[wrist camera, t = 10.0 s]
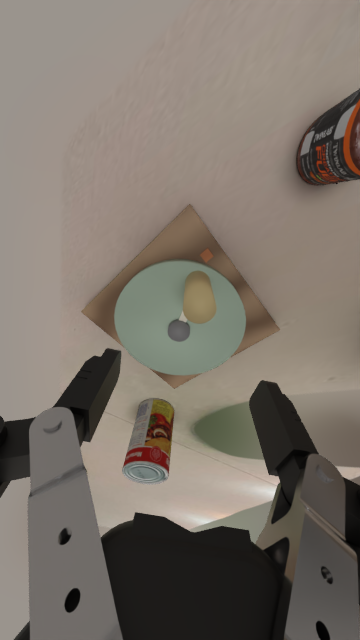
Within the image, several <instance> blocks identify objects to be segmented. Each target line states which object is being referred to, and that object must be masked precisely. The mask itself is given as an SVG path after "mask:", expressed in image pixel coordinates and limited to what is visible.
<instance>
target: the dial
mask: <svg viewBox="0 0 360 640" xmlns="http://www.w3.org/2000/svg"><path fill="white" fill-rule="evenodd" d="M114 320H115V327H116V331H117V334H118V337H119V339H120V341H121V343H122V345H123V346H124V347H125V349H126V350H127V351H128V352H129V354H130V355H131V356H133V357H134V358H135V359H136V360H137V361H139V362H140V363H141V364H143V365H145V366H147V367H148V368H151V369H153V370H155V371H158V372H161V373H165V374H171V375H194V374H199V373H203V372H206V371H209V370H212V369H214V368H216V367H218V366H219V365H221V364H222V363H224V362H225V361H226V360H228V359H229V358H230V357H231V356H232V355H233V354H234V352H235V351H236V350H237V348H238V347H239V345H240V343H241V341H242V339H243V336H244V332H245V327H246V316H245V310H244V306H243V303H242V301H241V299H240V297H239V295H238V293H237V291H236V289H235V288H234V286H233V285H232V283H231V282H230V281H229V280H228V279H227V278H226V277H225V276H224V275H223V274H222V273H220V272H219V271H218V270H216V269H214V268H213V267H211V266H209V265H206V264H204V263H201V262H198V261H194V260H188V259H170V260H164V261H160V262H157V263H154V264H152V265H150V266H148V267H146V268H144V269H143V270H141V271H140V272H139V273H137V274H136V275H135V276H134V277H133V278H132V279H131V280H130V281H129V283H128V284H127V285H126V286H125V287H124V289H123V290H122V292H121V294H120V296H119V298H118V300H117V303H116V307H115V314H114Z"/></svg>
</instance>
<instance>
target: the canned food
mask: <svg viewBox="0 0 360 640" xmlns="http://www.w3.org/2000/svg"><path fill="white" fill-rule="evenodd" d="M173 419H174V408H173V406H172V405H171V404H170V403H168V402H167V401H164V400H161V399H154V398H153V399H147V400H145V401H143V402H142V403H141V404H140V406H139V409H138V413H137V417H136V421H135V424H134V428H133V432H132V436H131V439H130V443H129V447H128V451H127V454H126V458H125V462H124V466H123V469H122V472H123V474H124V476H125V477H126V478H128V479H129V480H132V481H134V482H137V483H141V484H159V483H162V482H164V481H166V480H167V479H168V476H169V464H170V453H171V442H172V430H173Z"/></svg>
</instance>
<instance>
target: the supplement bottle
mask: <svg viewBox="0 0 360 640" xmlns="http://www.w3.org/2000/svg"><path fill="white" fill-rule="evenodd" d="M297 163H298V170H299V172H300V175H301V176H302V178H303V179H304V180H305V181H306V182H308V183H310V184H314V185H326V184H332V183H333V184H334V183H336V184H338V182H344V181H351V180H357V179H360V89H359V90H357V91H356V92H354V93H353V94H351V95H350V96H349V97H347V98H346V99H344V100H343V101H341V102H340V103H338V104H337V105H335V106H334V107H333V108H331V109H330V110H328V111H327V112H325V113H324V114H323V115H322V116H320V117H319V118H318V119H317V120H316V121H315V122H314V123H313V124H312V125H311V126H310V128H309V129H308V130H307V132H306V134H305V135H304V137H303V140H302V142H301V144H300V148H299V151H298V157H297Z"/></svg>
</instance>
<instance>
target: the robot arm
mask: <svg viewBox="0 0 360 640" xmlns="http://www.w3.org/2000/svg"><path fill="white" fill-rule="evenodd" d="M120 363H121V351H119V350H114V349H109V348H107V349H106V350H105V352H104V353H103V355H102V356H101V357H98V356H93V357H92V358H90V359H89V360H87V361H86V362H85V363H84V365H83V366H82V368H81V369H80V371H79V372H78V373H77V375H76V376H75V378H74V379H73V380H72V382H71V383H70V384H69V386H68V387H67V389H66V390H65V391H64V393H63V394H62V396H61V397H60V398H59V400H58V401H57V403H56V404H55V405H54V406H53V407H52V408H50V409H48V410H46V411H44V412H42V413H41V414H40V415H38V416H37V417H34V418H30V419H24V420H15V421H7V422H4V420H3V418H2V417H1V416H0V497H1V496H2V494H3V493H4V491H5V489H6V488H7V486H8V485H9V483H10V481H11V480H16V479H21V478H26V477H30V479H31V492H30V495H29V498H28V551H29V606H30V621H29V622H28V623H27V625H26V626H25V627H24V628H23V629H22V630H21V632H20V633H19V634H18V635H17V636H16V638H15V639H14V640H360V632H359V605H360V485H358V484H356V483H354V482H352V481H350V480H348V479H346V478H344V477H342V475H341V474H340V472H339V471H338V469H337V468H336V467H335V466H334V465H333V464H332V463H331V462H330V461H328V460H327V459H326V458H325V457H323V456H321V455H319V453H318V452H317V450H316V448H315V446H314V444H313V442H312V440H311V438H310V437H309V434H308V433H307V430H306V429H305V427H304V425H303V423H302V422H301V419H300V417H299V415H298V414H297V411H296V409H295V407H294V405H293V403H292V402H291V401H290V400H289V399H288V398H287V397H286V395H285V394H282V392H281V390H280V388H279V386H278V385H277V384H276V383H274V382H269V381H264V380H262V381H260V383H259V384H258V386H257V388H256V389H255V391H254V393H253V394H252V396H251V398H250V402H249V406H250V411H251V414H252V418H253V421H254V425H255V428H256V431H257V435H258V439H259V442H260V445H261V449H262V453H263V456H264V459H265V463H266V466H267V470H268V473H269V475H274V476H279V479H280V483H279V484H278V486H277V489H276V492H275V496H274V499H273V502H272V505H271V509H270V512H269V516H268V519H267V522H266V525H265V527H264V529H263V531H262V532H261V534H260V535H259V537H258V540H257V541H256V544H254V543H253V542H251V540H250V534H249V531H248V530H243V529H236V528H230V527H224V526H220V527H216V528H212V529H208V530H204V531H200V532H195V533H194V532H190V531H188V530H187V529H185V528H183V527H181V526H179V525H178V524H176V523H174V522H172V521H170V520H169V519H167V518H165V517H161V516H155V515H149V514H142V513H136V512H135V515H134V519H133V520H132V521H127V522H124V523H122V524H119V525H117V526H116V527H114V528H112V529H111V530H109V531H108V532H107V533H105V534H104V535H103V536H102V537H101V538H100V534H99V529H98V524H97V519H96V515H95V510H94V505H93V501H92V496H91V491H90V487H89V482H88V477H87V473H86V469H85V466H84V464H83V459H82V455H81V450H80V447H81V445H82V442H83V441H86V442H90V441H91V439H92V437H93V435H94V432H95V430H96V428H97V426H98V423H99V421H100V419H101V417H102V414H103V412H104V410H105V408H106V405H107V403H108V401H109V399H110V396H111V394H112V392H113V390H114V387H115V385H116V383H117V380H118V377H119V373H120Z"/></svg>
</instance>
